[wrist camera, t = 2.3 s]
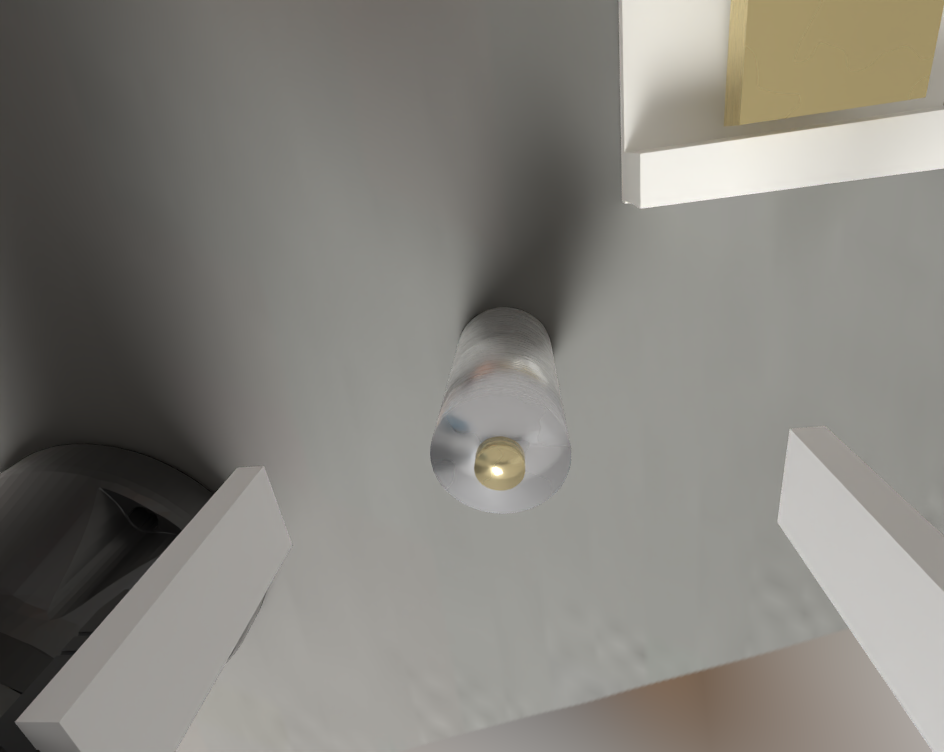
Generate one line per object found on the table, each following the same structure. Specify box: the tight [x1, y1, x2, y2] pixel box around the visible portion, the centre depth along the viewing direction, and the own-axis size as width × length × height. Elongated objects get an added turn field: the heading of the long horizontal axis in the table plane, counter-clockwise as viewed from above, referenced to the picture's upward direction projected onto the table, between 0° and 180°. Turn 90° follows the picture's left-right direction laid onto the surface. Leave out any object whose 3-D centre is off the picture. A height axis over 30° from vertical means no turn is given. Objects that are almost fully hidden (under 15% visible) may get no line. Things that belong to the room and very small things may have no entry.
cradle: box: [618, 0, 944, 209], centre depth 15 cm, size 10×9×3 cm
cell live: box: [430, 307, 571, 514], centre depth 18 cm, size 4×4×9 cm
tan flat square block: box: [724, 0, 944, 126], centre depth 14 cm, size 5×5×1 cm
